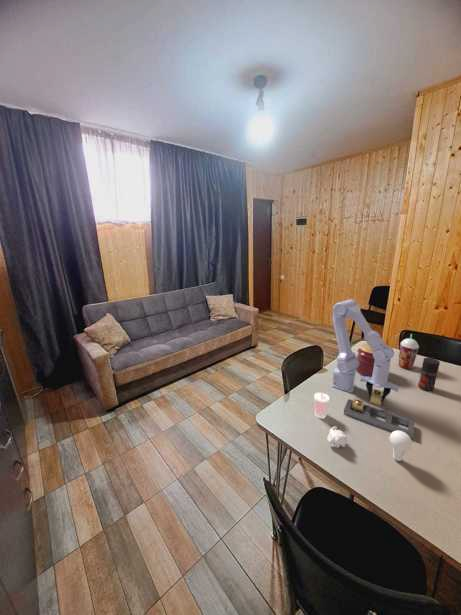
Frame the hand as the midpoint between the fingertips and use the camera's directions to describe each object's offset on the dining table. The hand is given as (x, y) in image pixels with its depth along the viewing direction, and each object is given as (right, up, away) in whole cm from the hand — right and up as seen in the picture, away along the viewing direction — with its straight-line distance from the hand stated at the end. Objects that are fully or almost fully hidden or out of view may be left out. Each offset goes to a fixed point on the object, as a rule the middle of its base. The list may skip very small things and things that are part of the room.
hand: (376, 399), depth 111 cm
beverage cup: (-27, -5, -6) cm, 28 cm away
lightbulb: (-9, -10, -27) cm, 31 cm away
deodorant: (+29, +2, +9) cm, 31 cm away
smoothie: (+33, +8, +28) cm, 44 cm away
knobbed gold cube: (0, -1, 0) cm, 1 cm away
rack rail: (-5, -5, -10) cm, 12 cm away
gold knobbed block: (-11, -4, -5) cm, 13 cm away
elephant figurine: (-27, -9, -21) cm, 35 cm away
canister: (+10, +6, +24) cm, 27 cm away
